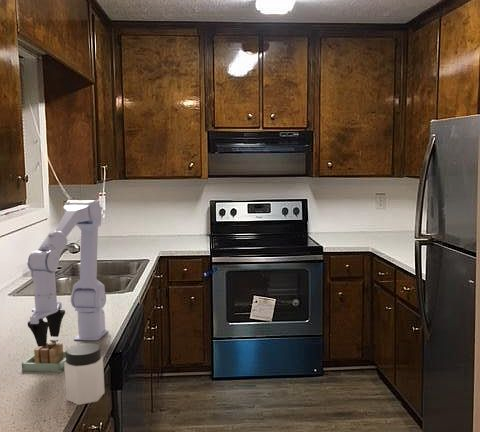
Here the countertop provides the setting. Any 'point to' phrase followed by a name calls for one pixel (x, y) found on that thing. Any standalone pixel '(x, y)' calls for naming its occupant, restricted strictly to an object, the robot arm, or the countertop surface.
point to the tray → (43, 365)
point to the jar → (84, 373)
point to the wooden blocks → (49, 353)
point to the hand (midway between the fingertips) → (48, 341)
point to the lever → (53, 340)
